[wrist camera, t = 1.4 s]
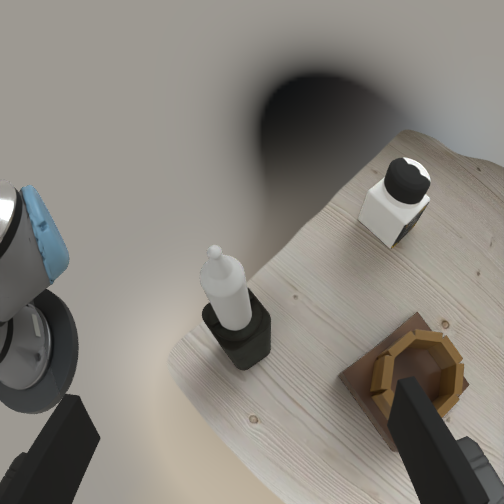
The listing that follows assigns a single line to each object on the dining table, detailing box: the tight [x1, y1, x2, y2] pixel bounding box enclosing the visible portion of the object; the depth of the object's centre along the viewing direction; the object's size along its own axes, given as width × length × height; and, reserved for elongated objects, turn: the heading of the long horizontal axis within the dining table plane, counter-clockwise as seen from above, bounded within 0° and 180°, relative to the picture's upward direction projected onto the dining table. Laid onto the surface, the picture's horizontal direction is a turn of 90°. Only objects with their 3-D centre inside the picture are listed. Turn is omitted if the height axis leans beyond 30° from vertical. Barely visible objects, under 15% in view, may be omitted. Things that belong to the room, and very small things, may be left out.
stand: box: [338, 312, 469, 453], centre depth 33 cm, size 13×13×6 cm
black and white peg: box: [200, 245, 271, 370], centre depth 28 cm, size 5×5×25 cm
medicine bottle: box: [358, 158, 430, 249], centre depth 42 cm, size 7×7×12 cm
